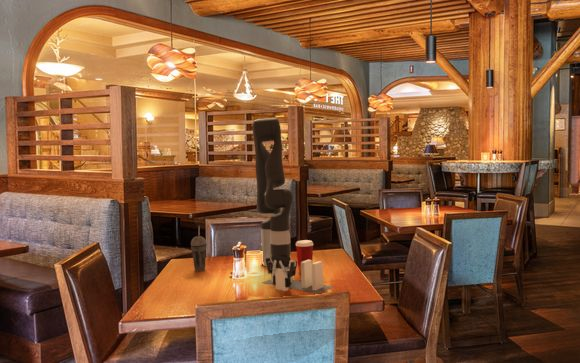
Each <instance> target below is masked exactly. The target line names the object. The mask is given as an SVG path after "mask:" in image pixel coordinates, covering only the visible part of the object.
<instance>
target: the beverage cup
mask: <svg viewBox="0 0 580 363" xmlns="http://www.w3.org/2000/svg"><path fill="white" fill-rule="evenodd" d="M200 227H201V226H200V225H198V233H197V234H198V235H196V236H194V237H193V238H192V239H191V241H190V249H191V254H192V260H193V261H192V262H193V268H194V271H195V272H203V271H205V270H206V257H207V256H206V255H207V245H208V243H207V241H206V239H205V237H203V236H201V235H200V230H201V228H200Z"/></svg>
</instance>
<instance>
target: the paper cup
mask: <svg viewBox="0 0 580 363" xmlns="http://www.w3.org/2000/svg"><path fill="white" fill-rule="evenodd" d="M295 247H296V248H295V249H296V259H297V268H298V273H299V274H300V275H301V262H303V261H306V260H312V261H313V259H314V258H313V255H314V253H313V252H314V251H313V250H314V242H313V241H312V240H310V239H309V240H308V239H304V240H297V241H296V242H295Z"/></svg>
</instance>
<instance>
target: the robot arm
mask: <svg viewBox="0 0 580 363" xmlns="http://www.w3.org/2000/svg"><path fill="white" fill-rule="evenodd" d="M281 129H282V128H281V123H280V121H279V119H278V118H277V117H269V118H268V117H267V118H257V119H254V120H253V122H252V137H253V142H254V151H255V152H254V157H255V176H256V207H257V211H258V213H260V214H265V215H266V214H272V215H271V216H270V218H268V219H265V220H263V221H261V223H260V231H261V232H260V233H261V234H260V235H261V243H260V244H259V248H260V250H259V251H263V262H264V267H266V268H267V273H268V275H269V274H270V275H271V274H272V276H273V284H274V285H273V286H275V287H276V280H275V272H276V268H280V269H282V271H283V272H284V275H285V277H286V278H285V287H286V288H288V287H290V285H291V277H292V278H293V277H294V276H296V271H297V268H298V260H292V257H291V256H290V255H291V253H292V252H291V250H292V249H291V248H292V247H291V233H290V214H291V209H292V208H291V207H292V204H293V201H294V196H293V193H292V191H291V190H290V189H288V188H280V187H282V186H284V185H285V182H286V177H285V170H284V164H283V147H282V146H283V145H282V144H283V143H282V130H281ZM264 142H273V147H272V149H271V152H269V151H268V150H267V148H266V147H265V145H264V144H263V143H264ZM277 188H278V189H277ZM290 257H291V258H290ZM273 263H274V264H273ZM289 263H290V266H289ZM286 267H288V269H285V268H286ZM287 271H288V273H287Z"/></svg>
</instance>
